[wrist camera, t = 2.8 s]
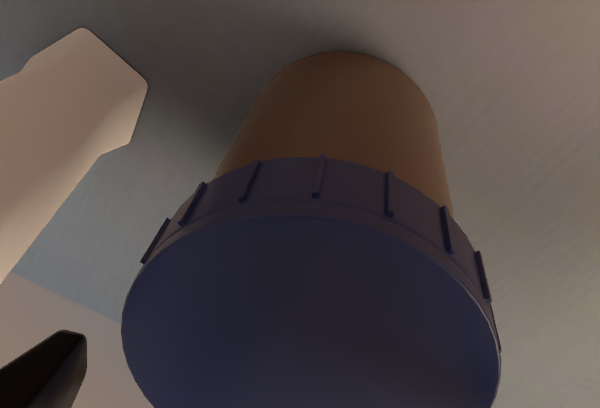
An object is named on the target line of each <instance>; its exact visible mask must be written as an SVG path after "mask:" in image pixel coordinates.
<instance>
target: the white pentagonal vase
mask: <svg viewBox="0 0 600 408" xmlns="http://www.w3.org/2000/svg"><path fill="white" fill-rule="evenodd" d="M147 89H148V85H147V82H146V81H145V79H144V78H143V77H142V76H141V75H139V74H138V73H137V72H136V71H135V70H134V69H133V68H131V67H130V66H129V65H128V64H127V63H126V62H125V61H124V60H122V59H121V58H120V57H119V56H118V55H117V54H116V53H114V52H113V51H112V50H111V49H110V48H109V47H108V46H107V45H105V44H104V43H103V42H102V41H101V40H100V39H99V38H97V37H96V36H95V35H94V34H93V33H92V32H91V31H89V30H88V29H86V28H79V29H77V30H75V31H73V32H72V33H70V34H68V35H67V36H65V37H63V38H62V39H60V40H59V41H57V42H55V43H54V44H52V45H50V46H49V47H47V48H46V49H44V50H42V51H41V52H39V53H37V54H36V55H34V56H33V57H31V58H30V59H29V60H28V62H27V63H26V64H25V66H24V67H23V69H22V70H21V71H20V72H19V73H17V74H15V75H12V76H10V77H8V78H6V79H3V80H1V81H0V284H1V283H2V281H3V280H4V279H5V278H6V276H7V275H8V274H9V272H10V271H11V270H12V269H13V267H14V266H15V265H16V263H17V262H18V261H19V260H20V258H21V257H22V256H23V254H24V253H25V252H26V250H27V249H28V248H29V247H30V245H31V244H32V243H33V241H34V240H35V239H36V238H37V236H38V235H39V234H40V232H41V231H42V230H43V229H44V227H45V226H46V225H47V223H48V222H49V221H50V219H51V218H52V217H53V216H54V214H55V213H56V212H57V210H58V209H59V208H60V207H61V205H62V204H63V203H64V201H65V200H66V199H67V198H68V196H69V195H70V194H71V192H72V191H73V190H74V188H75V187H76V186H77V185H78V183H79V182H80V181H81V179H82V178H83V177H84V176H85V174H86V173H87V172H88V170H89V169H90V168H91V167H92V165H93V164H94V163H95V161H96V160H97V159H98V157H99V156H100V155H102V154H104V153H107V152H109V151H112V150H114V149H117V148H119V147H122V146H124V145H126V144H128V143H129V142H130V140H131V137H132V134H133V131H134V128H135V125H136V123H137V120H138V117H139V114H140V111H141V108H142V105H143V102H144V99H145V96H146V93H147Z"/></svg>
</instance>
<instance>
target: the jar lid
mask: <svg viewBox="0 0 600 408" xmlns="http://www.w3.org/2000/svg"><path fill="white" fill-rule="evenodd" d="M140 262H141V263H143V264H144V265H143V267H142V268H141V270H140V272H139V273H138V275H137V277H136V278H135V280H134V282H133V284H132V286H131V288H130V290H129V292H128V295H127V297H126V301H125V305H124V308H123V312H122V324H121V335H122V344H123V350H124V354H125V357H126V361H127V364H128V366H129V369H130V371H131V373H132V375H133V377H134V380H135V381H136V383H137V385H138V386H139V388H140V389H141V391H142V392H143V394H144V396H145V397H146V398H147V399H148V401H149V402H150V403H151V404H152V405H153V406H154V408H491V406H492V404H493V402H494V400H495V398H496V395H497V390H498V386H499V382H500V376H501V356H500V353H501V346H500V341H499V337H498V333H497V329H496V324H495V320H494V316H493V311H492V307H491V303H490V302H492V299H491V294H490V290H489V286H488V282H487V278H486V273H485V269H484V265H483V261H482V256H481V253H480V251H476V252H475V251H474V249H473V247H472V245H471V244H470V242H469V240H468V238H467V236H466V235H465V234H464V232H463V231H462V230H461V228H460V227H459V226H458V224H457V223H456V222H455V221H454V219H453V218H452V217H451V216H450V215H449V210H448V208H447V207H446V206H445V205H443V206H442V207H440V206H439V205H438V204H437V203H436V202H435V201H433V200H432V199H431V198H429V197H428V196H426V195H425V194H424V193H422V192H421V191H420V190H418V189H417V188H415V187H413V186H411V185H410V184H408V183H406V182H404V181H402V180H401V179H399V178H397V177H395V176H394V172H392V171H389V170H388V172H387V173H385V172H383V171H380V170H378V169H375V168H372V167H369V166H365V165H361V164H358V163H354V162H350V161H345V160H338V159H332V158H327V155H325V154H321V155H320V157H288V158H276V159H271V160H266V161H260V159H259V158H258V159H254V160H253V163H252V164H249V165H246V166H243V167H241V168H238V169H235V170H232V171H229V172H227V173H225V174H223V175H222V176H220V177H218V178H216V179H214V180H212V181H210V182H209V183H207V184H206V183H205V182H204V181H203V182H202V183H200V184H199V186H198V188H197V189H196V191H195V193H194V194H193V195H192V196H191V197H190V198H189V199H187V200H186V201H185V202H184V203H183V204H182V205H181V206H180V208H179V209H178V211H177V212H176V213H175V215H174V216H173V217H172V219H171V220H170V219H168V218H166V220H165V222H164V223H163V225H162V227H161V228H160V230H159V231H158V233H157V235H156V236H155V238H154V240H153V241H152V243H151V245H150V246H149V248H148V249H147V251H146V253H145V254H144V256H143V258H142V259H141V261H140Z"/></svg>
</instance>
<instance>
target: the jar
mask: <svg viewBox="0 0 600 408" xmlns="http://www.w3.org/2000/svg"><path fill="white" fill-rule="evenodd" d="M321 154H325V155H327V158H332V159H338V160H345V161H350V162H354V163H358V164H361V165H365V166H369V167H372V168H375V169H378V170H380V171H383V172H385V173H387V172H388V170H389V171H392V172H394V176H395V177H397V178H399V179H401V180H402V181H404V182H406V183H408V184H410V185H411V186H413V187H415V188H417V189H418V190H420V191H421V192H422V193H424V194H425V195H426V196H428V197H429V198H431V199H432V200H433V201H435V202H436V203H437V204H438V205H439V206H440V207H442V206H443V205H445V206H446V207H447V208H448V210H449V215H450V216H451V217H452V218H453V219H454V216H453V211H452V205H451V200H450V194H449V189H448V184H447V178H446V173H445V167H444V162H443V157H442V151H441V146H440V140H439V135H438V130H437V124H436V120H435V117H434V114H433V111H432V108H431V106H430V104H429V102H428V100H427V99H426V97H425V95H424V94H423V93H422V91H421V90H420V89H419V87H418V86H417V85H416V84H415V83H414V82H413V81H412V80H411V79H410V78H409V77H408V76H407V75H405V74H404V73H403V72H402V71H400V70H399V69H397V68H396V67H394V66H392V65H391V64H389V63H387V62H385V61H382V60H380V59H378V58H375V57H372V56H368V55H365V54H360V53H353V52H327V53H320V54H316V55H312V56H308V57H306V58H303V59H301V60H298V61H296V62H294V63H292V64H291V65H289V66H287V67H285V68H284V69H282V70H281V71H280V72H279V73H277V74H276V75H275V76H274V77H273V78H272V79H271V80H270V81H269V82H268V83H267V84H266V85H265V86H264V88H263V89H262V90H261V92H260V93H259V95H258V97H257V98H256V100H255V102H254V104H253V106H252V107H251V109H250V111H249V113H248V115H247V117H246V118H245V120H244V122H243V124H242V126H241V128H240V129H239V131H238V133H237V135H236V137H235V139H234V140H233V142H232V144H231V146H230V148H229V149H228V151H227V153H226V155H225V157H224V159H223V160H222V162H221V164H220V166H219V168H218V170H217V171H216V173H215V175H214V177H213V179H212V180H214V179H216V178H218V177H220V176H222V175H223V174H225V173H227V172H229V171H232V170H235V169H238V168H241V167H243V166H246V165H249V164H252V163H253V160H254V159H258V158H259V159H260V161H266V160H271V159H276V158H288V157H320V155H321Z"/></svg>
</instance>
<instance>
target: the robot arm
mask: <svg viewBox="0 0 600 408" xmlns="http://www.w3.org/2000/svg"><path fill="white" fill-rule="evenodd" d="M86 369H87V340H86V337H85V335H83V334H80V333H76V332H72V331H68V330H60V331H58V332H56V333H54V334H53V335H51V336H50V337H49V338H47V339H45V340H44V341H42V342H41V343H39V344H37V345H36V346H34V347H33V348H31V349H30V350H28V351H27V352H25V353H24V354H22V355H21V356H19V357H18V358H16V359H15V360H13V361H12V362H10V363H8V364H7V365H5V366H4V367H2V368H1V369H0V408H71V407H72V404H73V402H74V400H75V398H76V396H77V393H78V391H79V389H80V387H81V385H82V382H83V380H84V377H85V374H86Z"/></svg>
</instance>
